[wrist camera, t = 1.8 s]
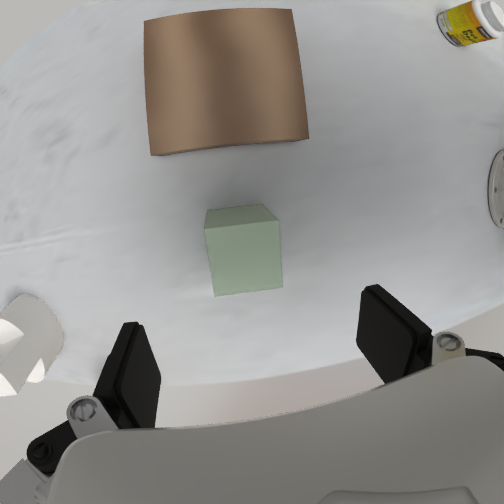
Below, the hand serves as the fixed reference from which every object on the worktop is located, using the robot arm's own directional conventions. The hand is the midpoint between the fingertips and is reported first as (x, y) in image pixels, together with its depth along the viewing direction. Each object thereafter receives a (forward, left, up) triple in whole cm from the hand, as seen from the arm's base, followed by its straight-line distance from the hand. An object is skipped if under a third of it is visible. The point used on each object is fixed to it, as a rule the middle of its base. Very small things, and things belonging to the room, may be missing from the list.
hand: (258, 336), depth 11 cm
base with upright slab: (+27, +8, -16) cm, 32 cm away
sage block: (0, 0, -16) cm, 16 cm away
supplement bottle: (-31, -26, -16) cm, 44 cm away
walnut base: (0, -14, -16) cm, 21 cm away
